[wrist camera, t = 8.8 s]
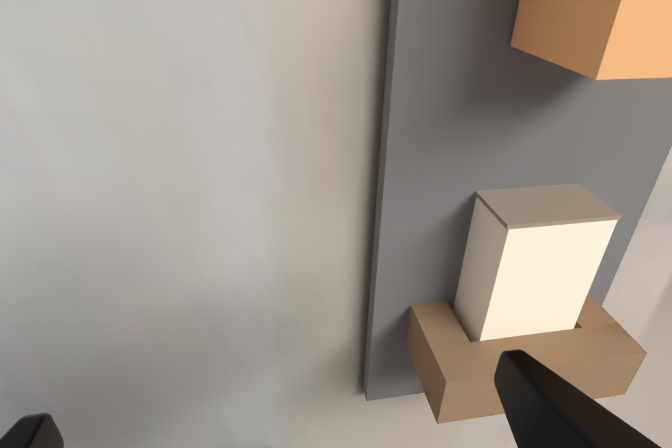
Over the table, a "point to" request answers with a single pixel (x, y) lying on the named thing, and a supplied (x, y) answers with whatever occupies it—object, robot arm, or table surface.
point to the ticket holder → (501, 210)
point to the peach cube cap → (599, 36)
